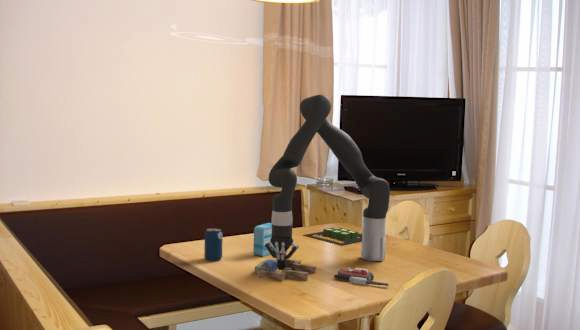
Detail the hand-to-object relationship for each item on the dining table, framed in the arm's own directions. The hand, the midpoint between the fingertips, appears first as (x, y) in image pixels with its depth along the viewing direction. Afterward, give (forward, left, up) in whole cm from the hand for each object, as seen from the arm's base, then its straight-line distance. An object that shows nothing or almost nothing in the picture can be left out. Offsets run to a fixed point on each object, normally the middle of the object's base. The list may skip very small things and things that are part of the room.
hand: (281, 269), depth 218 cm
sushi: (-4, -68, -2) cm, 68 cm away
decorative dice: (+4, 0, -1) cm, 5 cm away
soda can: (+30, -5, -2) cm, 31 cm away
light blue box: (+16, -23, -2) cm, 28 cm away
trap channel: (-2, 0, -1) cm, 2 cm away
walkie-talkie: (-30, -3, -2) cm, 30 cm away
